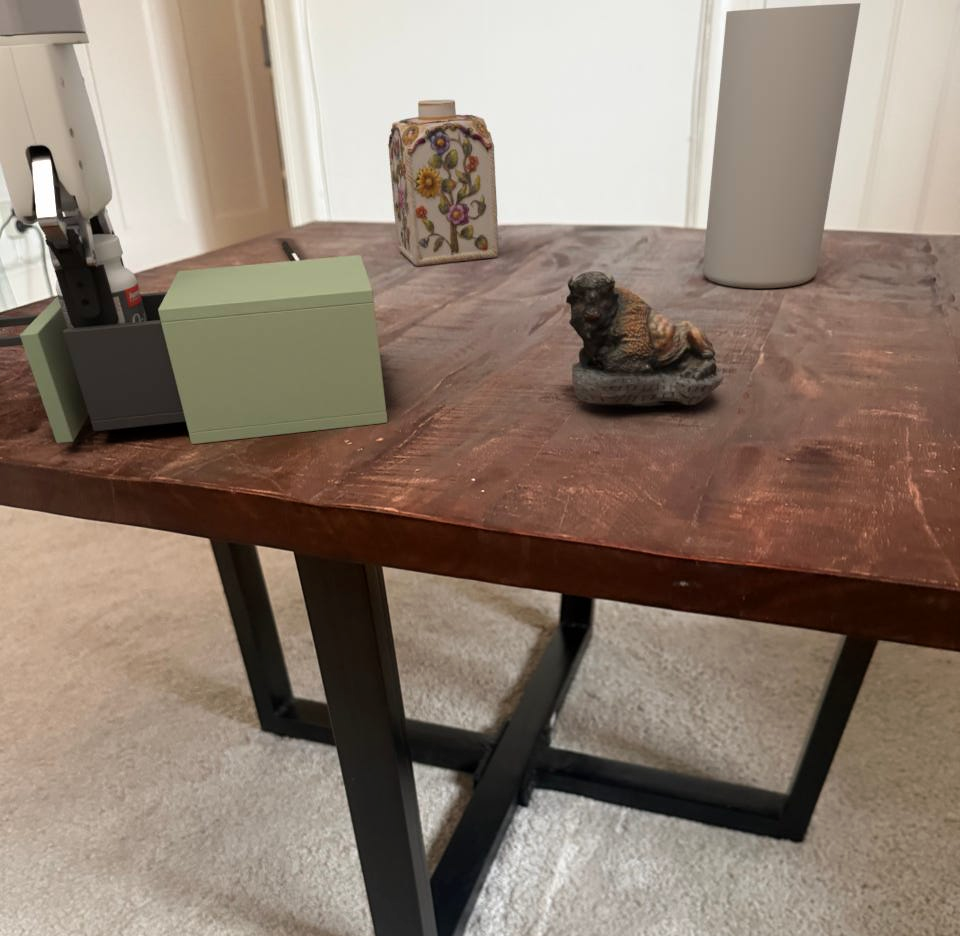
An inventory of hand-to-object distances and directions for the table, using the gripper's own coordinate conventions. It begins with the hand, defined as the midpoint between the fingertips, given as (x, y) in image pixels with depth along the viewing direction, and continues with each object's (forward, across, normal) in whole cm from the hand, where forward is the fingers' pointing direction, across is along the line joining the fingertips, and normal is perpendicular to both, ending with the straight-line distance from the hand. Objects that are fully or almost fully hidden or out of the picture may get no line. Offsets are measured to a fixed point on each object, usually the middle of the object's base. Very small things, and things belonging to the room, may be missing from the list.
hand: (103, 312), depth 65 cm
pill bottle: (+5, 0, 0) cm, 5 cm away
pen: (+9, -62, +12) cm, 64 cm away
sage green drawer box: (+9, 0, +12) cm, 15 cm away
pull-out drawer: (+8, 0, -1) cm, 8 cm away
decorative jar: (+9, -55, +33) cm, 65 cm away
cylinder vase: (+9, -27, +65) cm, 71 cm away
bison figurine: (+9, +9, +39) cm, 41 cm away
